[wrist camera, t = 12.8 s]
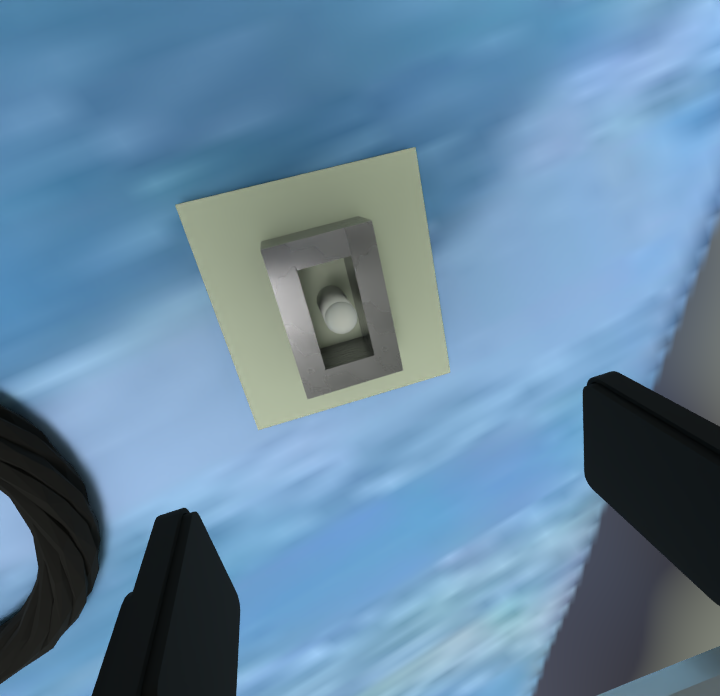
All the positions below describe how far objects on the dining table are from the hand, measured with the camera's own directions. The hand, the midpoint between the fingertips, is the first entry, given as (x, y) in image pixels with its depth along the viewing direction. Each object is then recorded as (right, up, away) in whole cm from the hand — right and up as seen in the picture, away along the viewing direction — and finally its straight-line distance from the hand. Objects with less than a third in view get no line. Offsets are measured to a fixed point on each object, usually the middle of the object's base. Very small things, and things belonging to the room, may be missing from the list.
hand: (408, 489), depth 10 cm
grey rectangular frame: (-3, +6, +17) cm, 19 cm away
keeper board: (-3, +7, +19) cm, 20 cm away
